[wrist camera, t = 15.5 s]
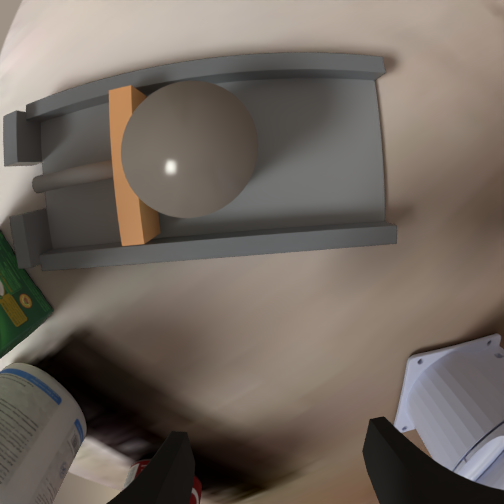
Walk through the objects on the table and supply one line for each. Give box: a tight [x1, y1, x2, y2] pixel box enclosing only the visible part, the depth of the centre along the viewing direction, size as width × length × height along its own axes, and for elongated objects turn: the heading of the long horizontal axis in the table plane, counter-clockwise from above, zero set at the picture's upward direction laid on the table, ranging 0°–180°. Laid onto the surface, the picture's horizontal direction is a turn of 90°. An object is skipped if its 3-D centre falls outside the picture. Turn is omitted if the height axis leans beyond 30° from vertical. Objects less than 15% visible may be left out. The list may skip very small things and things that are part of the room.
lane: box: [3, 53, 397, 271], centre depth 16 cm, size 22×10×3 cm, turn 95°
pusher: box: [32, 85, 161, 246], centre depth 16 cm, size 7×8×3 cm
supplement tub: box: [0, 363, 87, 504], centre depth 15 cm, size 10×10×15 cm
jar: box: [121, 81, 258, 218], centre depth 14 cm, size 6×6×6 cm
